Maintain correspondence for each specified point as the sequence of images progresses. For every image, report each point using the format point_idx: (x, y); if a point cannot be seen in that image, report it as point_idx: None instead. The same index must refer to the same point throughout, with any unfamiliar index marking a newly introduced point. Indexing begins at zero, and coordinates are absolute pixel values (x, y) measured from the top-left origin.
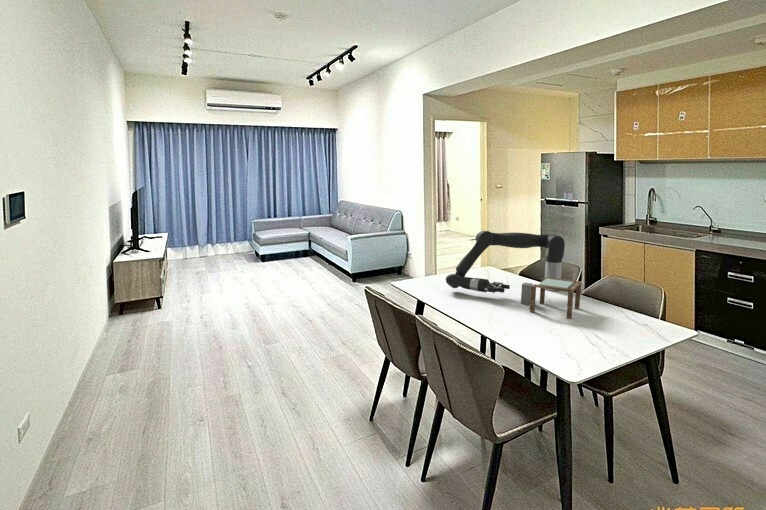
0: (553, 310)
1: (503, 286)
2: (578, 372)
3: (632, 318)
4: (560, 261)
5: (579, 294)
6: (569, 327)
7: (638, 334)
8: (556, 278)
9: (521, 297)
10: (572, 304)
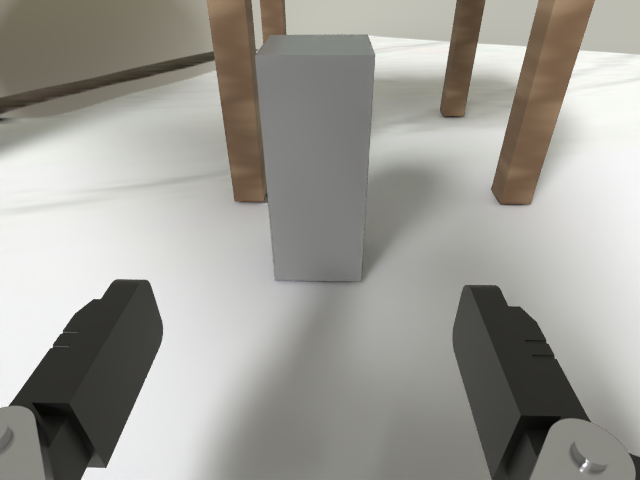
0: (372, 151)
1: (94, 422)
2: None
3: None
4: None
5: (285, 27)
6: (566, 106)
7: (447, 54)
8: None
9: (364, 221)
10: (451, 39)
